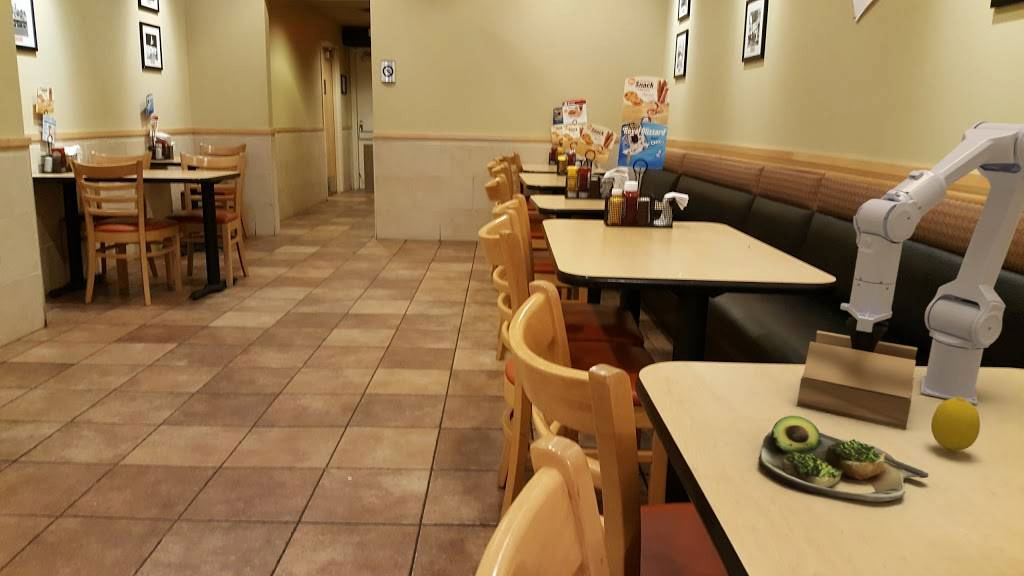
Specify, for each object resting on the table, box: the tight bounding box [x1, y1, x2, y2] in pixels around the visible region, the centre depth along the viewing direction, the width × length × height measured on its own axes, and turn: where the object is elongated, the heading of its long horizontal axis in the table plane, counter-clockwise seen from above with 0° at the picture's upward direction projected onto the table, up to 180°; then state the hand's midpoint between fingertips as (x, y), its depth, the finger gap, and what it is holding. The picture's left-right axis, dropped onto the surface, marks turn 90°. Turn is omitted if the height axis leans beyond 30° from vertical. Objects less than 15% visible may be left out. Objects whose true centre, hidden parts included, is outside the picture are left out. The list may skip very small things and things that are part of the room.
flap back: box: [815, 330, 918, 360], centre depth 118 cm, size 6×14×1 cm
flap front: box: [802, 341, 917, 398], centre depth 110 cm, size 6×14×1 cm
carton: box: [796, 375, 914, 431], centre depth 115 cm, size 12×15×4 cm
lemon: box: [930, 397, 981, 454], centre depth 99 cm, size 6×6×8 cm
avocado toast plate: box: [758, 415, 929, 503], centre depth 93 cm, size 19×18×5 cm
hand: (860, 365), depth 114 cm, fingers closed
